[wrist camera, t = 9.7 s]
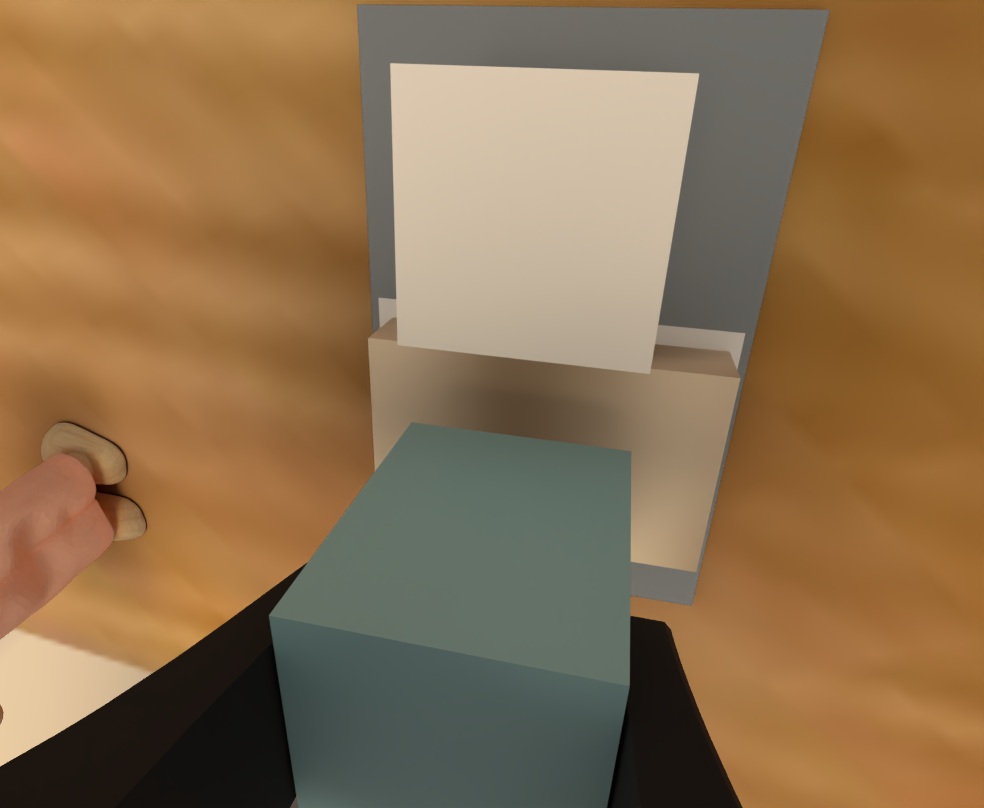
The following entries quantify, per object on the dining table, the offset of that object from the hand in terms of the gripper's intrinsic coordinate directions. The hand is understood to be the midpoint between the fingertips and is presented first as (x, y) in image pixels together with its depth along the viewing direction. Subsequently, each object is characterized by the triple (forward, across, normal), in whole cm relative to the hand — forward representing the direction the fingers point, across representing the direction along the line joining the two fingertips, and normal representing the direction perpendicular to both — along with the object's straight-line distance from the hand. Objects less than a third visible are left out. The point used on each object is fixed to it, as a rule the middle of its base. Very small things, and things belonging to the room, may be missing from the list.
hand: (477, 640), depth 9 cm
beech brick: (+7, 0, 0) cm, 7 cm away
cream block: (+7, 0, -6) cm, 9 cm away
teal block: (+3, 0, 0) cm, 3 cm away
